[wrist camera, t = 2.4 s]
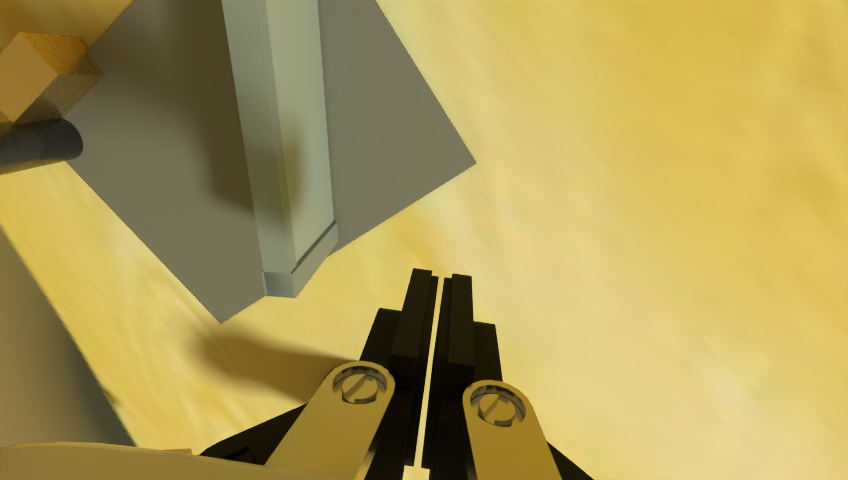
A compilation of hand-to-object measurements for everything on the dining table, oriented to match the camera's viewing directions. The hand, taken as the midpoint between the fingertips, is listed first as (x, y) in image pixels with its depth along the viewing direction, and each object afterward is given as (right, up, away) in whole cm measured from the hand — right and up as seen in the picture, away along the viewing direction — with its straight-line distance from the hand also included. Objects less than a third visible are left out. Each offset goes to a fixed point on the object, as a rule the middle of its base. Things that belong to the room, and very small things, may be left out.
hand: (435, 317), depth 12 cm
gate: (-6, +9, +9) cm, 14 cm away
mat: (-10, +8, +11) cm, 17 cm away
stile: (-20, +10, +11) cm, 25 cm away
